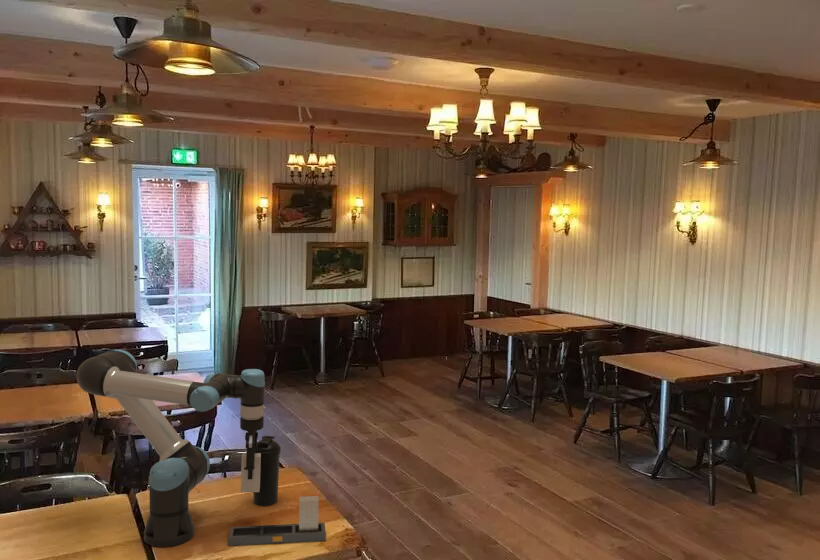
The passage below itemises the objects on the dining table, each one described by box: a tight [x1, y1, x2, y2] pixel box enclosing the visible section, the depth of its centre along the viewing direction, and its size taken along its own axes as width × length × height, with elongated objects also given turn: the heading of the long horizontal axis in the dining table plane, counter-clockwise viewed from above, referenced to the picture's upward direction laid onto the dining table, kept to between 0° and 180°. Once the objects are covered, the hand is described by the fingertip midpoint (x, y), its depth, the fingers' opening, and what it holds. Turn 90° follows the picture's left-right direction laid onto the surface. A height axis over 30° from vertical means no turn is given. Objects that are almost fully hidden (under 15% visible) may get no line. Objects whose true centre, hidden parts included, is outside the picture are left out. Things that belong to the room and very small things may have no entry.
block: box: [240, 453, 261, 493], centre depth 222 cm, size 6×4×12 cm, turn 100°
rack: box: [227, 495, 327, 547], centre depth 213 cm, size 30×8×13 cm, turn 100°
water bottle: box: [252, 435, 282, 507], centre depth 239 cm, size 10×10×23 cm
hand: (250, 484), depth 222 cm, fingers closed on block, 3 cm apart
